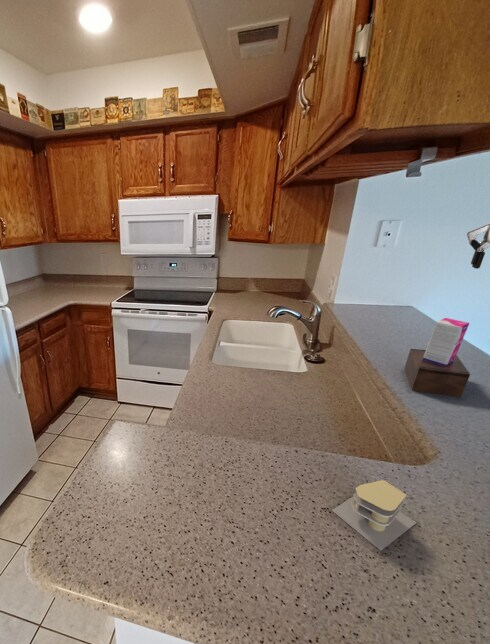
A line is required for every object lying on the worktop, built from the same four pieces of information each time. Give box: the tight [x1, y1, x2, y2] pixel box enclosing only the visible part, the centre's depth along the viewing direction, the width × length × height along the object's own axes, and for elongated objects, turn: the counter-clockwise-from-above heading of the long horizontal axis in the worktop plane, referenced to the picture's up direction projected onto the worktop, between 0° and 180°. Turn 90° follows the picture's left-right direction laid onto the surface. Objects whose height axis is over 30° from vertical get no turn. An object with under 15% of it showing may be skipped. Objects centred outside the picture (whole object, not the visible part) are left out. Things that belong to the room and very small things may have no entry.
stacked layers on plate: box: [331, 479, 417, 551], centre depth 56 cm, size 10×9×6 cm
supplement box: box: [423, 317, 470, 366], centre depth 90 cm, size 6×6×12 cm
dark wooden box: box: [403, 348, 471, 398], centre depth 95 cm, size 11×14×7 cm
